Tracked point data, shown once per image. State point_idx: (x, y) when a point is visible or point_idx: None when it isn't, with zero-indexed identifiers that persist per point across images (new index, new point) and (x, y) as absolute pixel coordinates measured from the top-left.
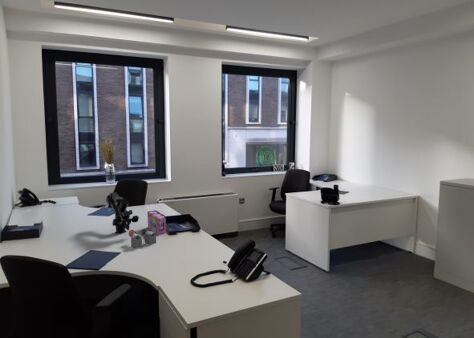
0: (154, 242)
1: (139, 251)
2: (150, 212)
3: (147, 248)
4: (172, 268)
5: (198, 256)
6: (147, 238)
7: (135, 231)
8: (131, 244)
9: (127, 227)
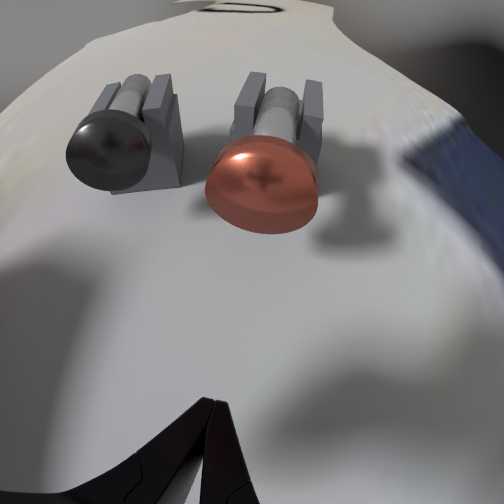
0: None
1: None
2: None
3: None
4: (274, 27)
5: (167, 33)
6: (176, 118)
7: (219, 152)
8: None
9: (219, 436)
